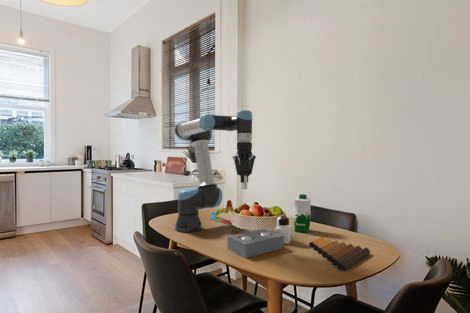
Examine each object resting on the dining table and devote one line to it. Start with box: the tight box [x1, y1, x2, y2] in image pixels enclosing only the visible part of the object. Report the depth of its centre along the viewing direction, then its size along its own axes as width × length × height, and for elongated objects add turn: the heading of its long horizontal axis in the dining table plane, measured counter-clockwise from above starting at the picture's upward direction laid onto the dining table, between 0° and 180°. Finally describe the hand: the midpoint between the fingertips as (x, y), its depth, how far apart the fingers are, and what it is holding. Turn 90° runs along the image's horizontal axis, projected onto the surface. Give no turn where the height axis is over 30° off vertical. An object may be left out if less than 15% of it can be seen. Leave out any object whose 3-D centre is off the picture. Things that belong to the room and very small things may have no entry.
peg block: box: [227, 228, 284, 259], centre depth 141 cm, size 14×22×6 cm, turn 124°
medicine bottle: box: [274, 216, 292, 245], centre depth 151 cm, size 7×7×12 cm
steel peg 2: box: [260, 232, 270, 236], centre depth 144 cm, size 5×5×5 cm
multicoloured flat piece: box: [210, 199, 235, 227], centre depth 186 cm, size 30×3×15 cm, turn 40°
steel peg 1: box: [241, 236, 252, 240], centre depth 138 cm, size 5×5×5 cm
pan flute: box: [308, 237, 371, 272], centre depth 133 cm, size 25×3×25 cm
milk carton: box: [293, 193, 311, 233], centre depth 170 cm, size 9×9×20 cm
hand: (244, 188), depth 151 cm, fingers closed
